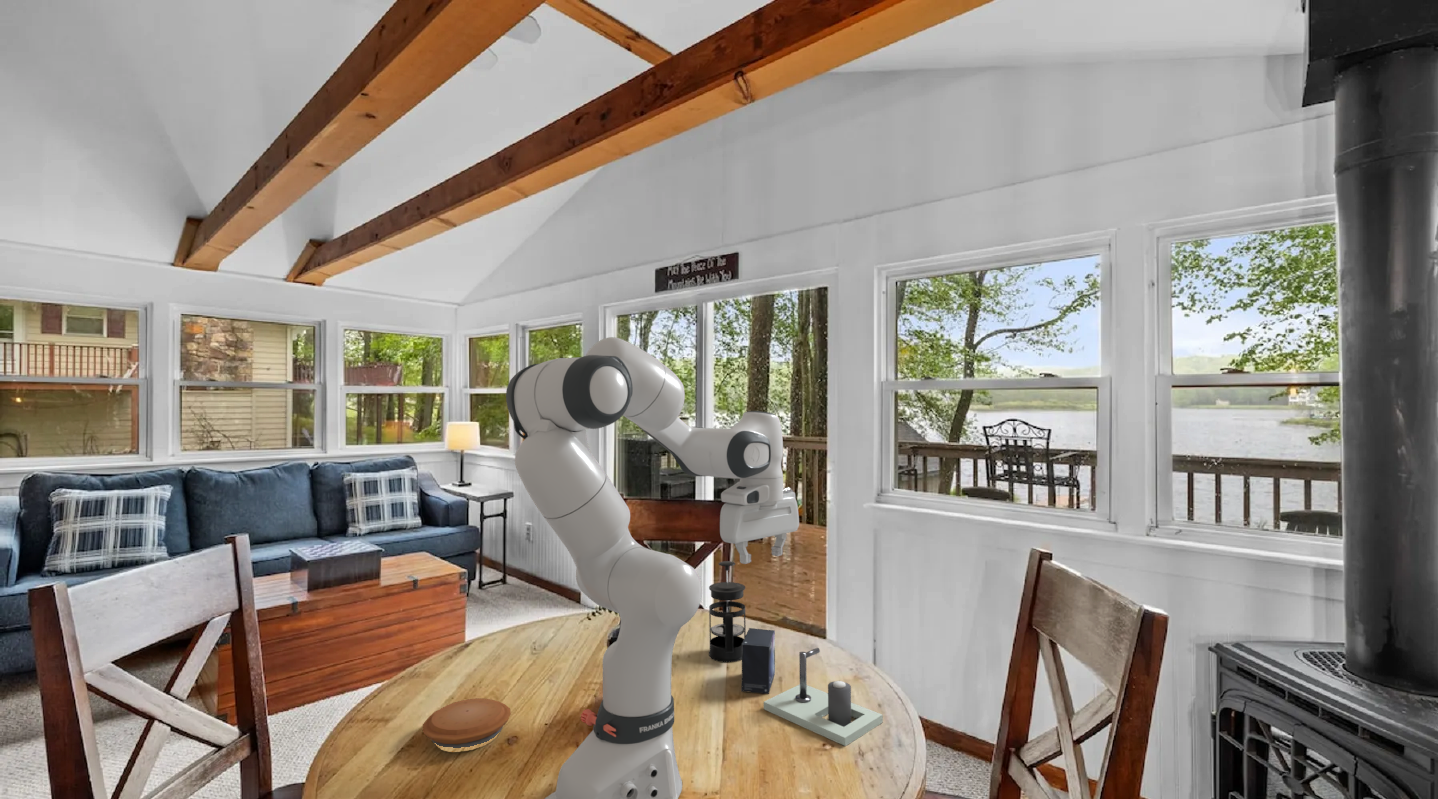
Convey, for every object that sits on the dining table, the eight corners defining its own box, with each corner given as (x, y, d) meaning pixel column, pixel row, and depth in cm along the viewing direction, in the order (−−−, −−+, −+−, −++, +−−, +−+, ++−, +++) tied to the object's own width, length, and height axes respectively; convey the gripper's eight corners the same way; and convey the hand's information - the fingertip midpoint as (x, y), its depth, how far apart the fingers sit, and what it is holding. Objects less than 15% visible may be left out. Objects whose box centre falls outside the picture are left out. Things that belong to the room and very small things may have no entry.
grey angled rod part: (804, 704, 130) (804, 657, 130) (792, 699, 133) (791, 652, 133) (824, 694, 135) (823, 648, 135) (812, 689, 137) (811, 644, 137)
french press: (708, 647, 165) (707, 557, 165) (744, 646, 166) (743, 556, 166) (709, 666, 154) (709, 569, 154) (749, 664, 154) (748, 568, 154)
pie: (508, 711, 132) (507, 687, 132) (513, 749, 117) (513, 721, 118) (425, 726, 126) (424, 700, 126) (419, 767, 112) (419, 738, 112)
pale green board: (845, 746, 117) (845, 737, 117) (763, 709, 132) (763, 701, 132) (882, 722, 126) (882, 714, 126) (802, 690, 140) (802, 683, 140)
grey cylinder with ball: (823, 722, 126) (823, 683, 126) (837, 714, 129) (836, 676, 129) (842, 730, 123) (842, 690, 123) (855, 722, 126) (855, 683, 126)
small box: (770, 695, 138) (770, 645, 138) (740, 692, 139) (740, 643, 140) (776, 674, 148) (776, 628, 149) (748, 672, 150) (747, 627, 150)
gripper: (783, 485, 141) (783, 548, 141) (714, 494, 127) (714, 564, 127) (806, 487, 136) (806, 553, 136) (737, 497, 122) (737, 570, 122)
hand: (761, 559), depth 131 cm, fingers open, 8 cm apart
